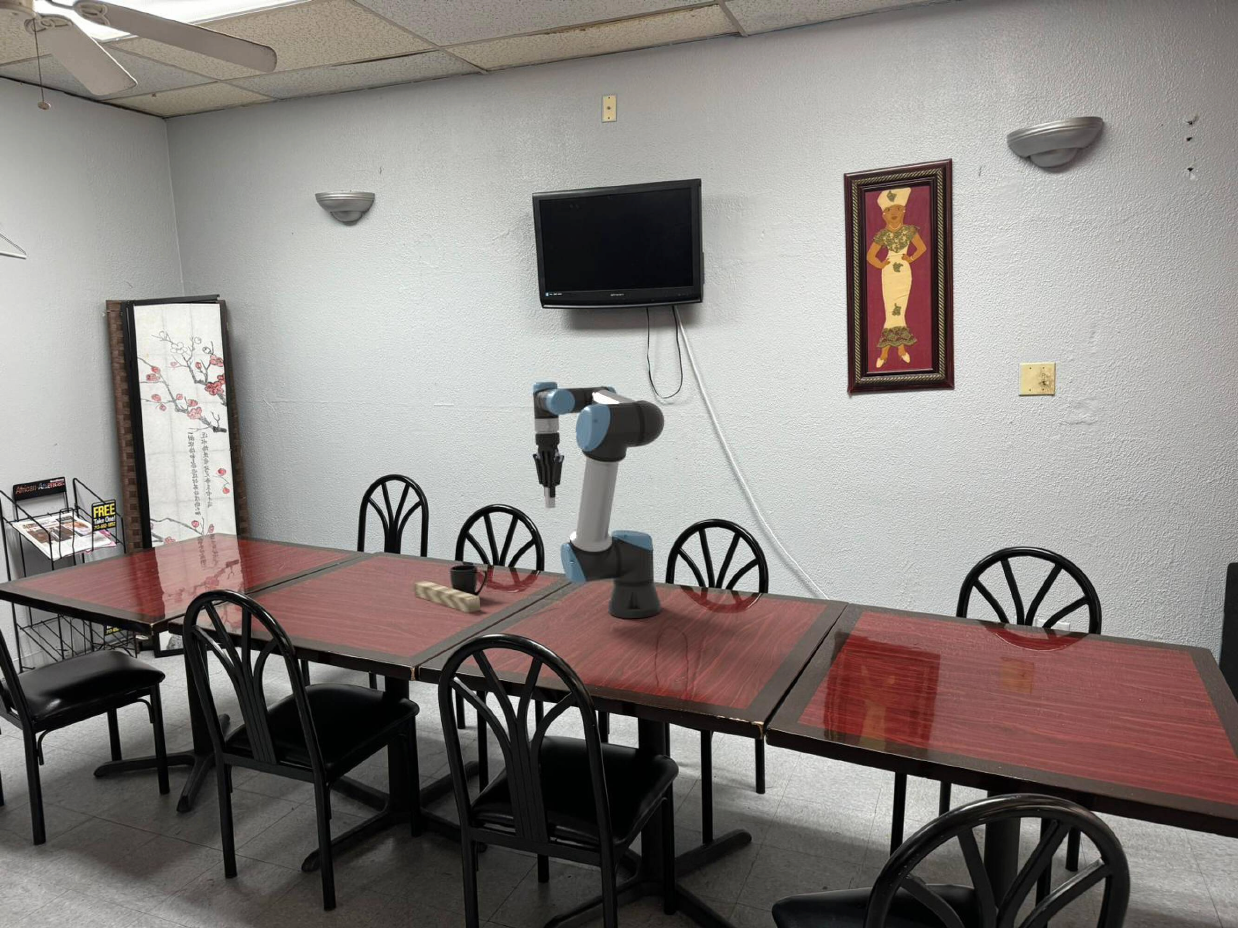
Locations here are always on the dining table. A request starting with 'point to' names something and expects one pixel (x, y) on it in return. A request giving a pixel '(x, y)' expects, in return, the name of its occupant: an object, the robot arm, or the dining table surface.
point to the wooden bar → (447, 596)
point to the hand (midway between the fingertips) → (550, 507)
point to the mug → (466, 578)
